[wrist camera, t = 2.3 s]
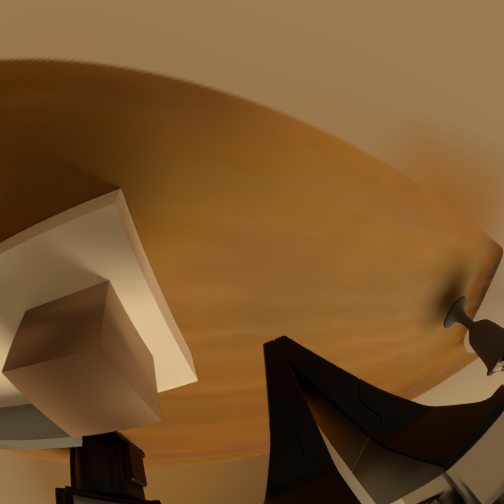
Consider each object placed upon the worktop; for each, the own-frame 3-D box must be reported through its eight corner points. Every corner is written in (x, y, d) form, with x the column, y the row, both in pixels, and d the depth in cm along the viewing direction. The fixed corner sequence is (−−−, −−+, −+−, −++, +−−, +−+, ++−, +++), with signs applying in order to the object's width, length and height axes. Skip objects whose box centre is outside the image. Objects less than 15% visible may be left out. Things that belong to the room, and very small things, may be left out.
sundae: (458, 322, 33) (523, 381, 20) (433, 339, 31) (503, 408, 18) (474, 285, 30) (548, 344, 17) (450, 299, 28) (533, 371, 15)
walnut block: (77, 377, 12) (72, 437, 9) (25, 310, 10) (1, 372, 7) (153, 356, 13) (162, 421, 10) (109, 280, 11) (99, 346, 8)
